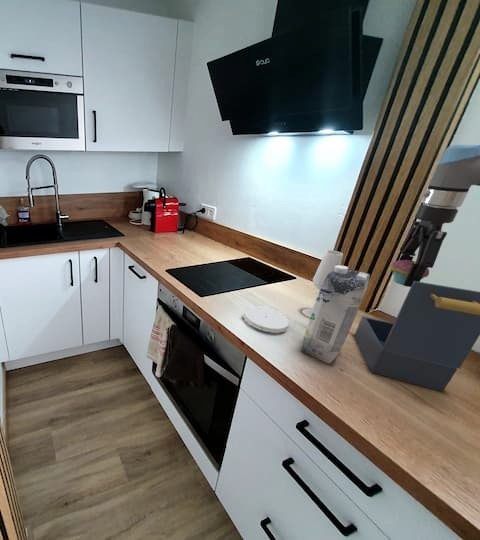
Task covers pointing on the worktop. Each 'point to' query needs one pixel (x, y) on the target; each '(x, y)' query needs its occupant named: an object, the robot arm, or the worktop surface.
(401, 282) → the cupcake
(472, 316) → the lid
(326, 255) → the champagne flute
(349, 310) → the juice carton
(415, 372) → the chest
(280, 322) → the plastic lid
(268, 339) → the worktop surface
